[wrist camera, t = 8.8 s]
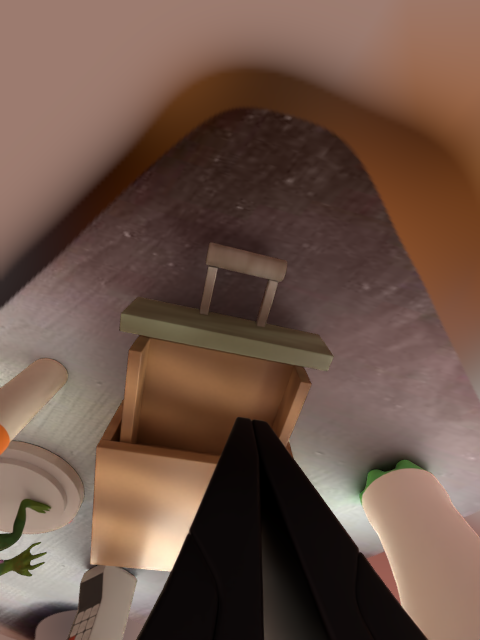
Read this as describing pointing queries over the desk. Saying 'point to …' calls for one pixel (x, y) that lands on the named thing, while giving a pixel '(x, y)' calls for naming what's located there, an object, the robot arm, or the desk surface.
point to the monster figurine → (34, 498)
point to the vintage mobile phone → (103, 604)
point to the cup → (427, 550)
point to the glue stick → (28, 396)
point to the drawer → (214, 365)
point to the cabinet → (144, 500)
